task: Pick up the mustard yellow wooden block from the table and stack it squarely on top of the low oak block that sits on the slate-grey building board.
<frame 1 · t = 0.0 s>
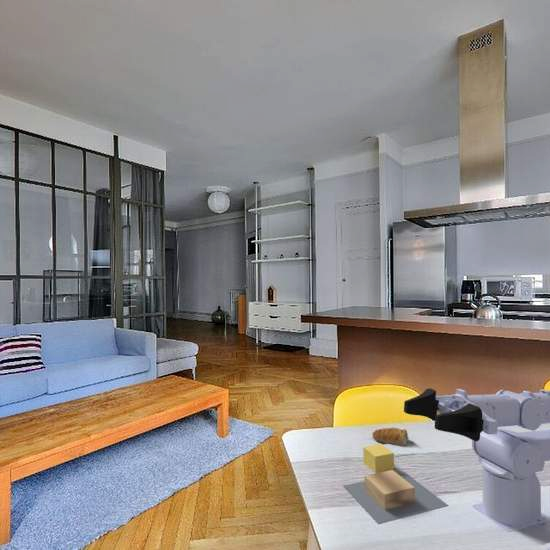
hand: (419, 414, 64), 22 cm above the table, tool horizontal, fingers open, 7 cm apart
building board: (393, 498, 76), on the table
yellow block: (378, 469, 88), on the table
oak block: (389, 496, 75), point 1 cm above the table, touching building board
pastry: (392, 443, 102), on the table
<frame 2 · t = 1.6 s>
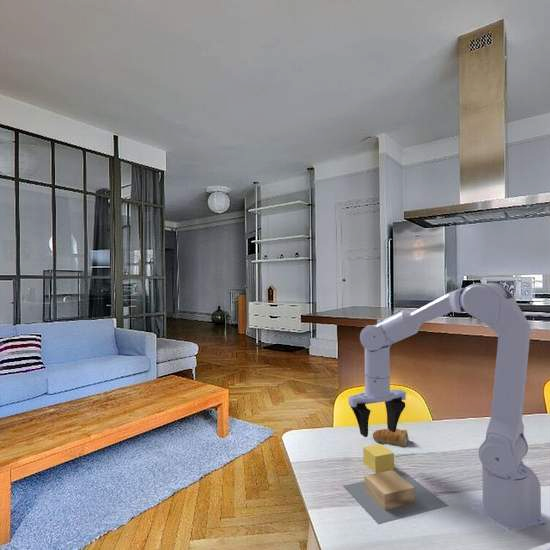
hand: (378, 432, 88), 8 cm above the table, tool pointing down, fingers open, 7 cm apart
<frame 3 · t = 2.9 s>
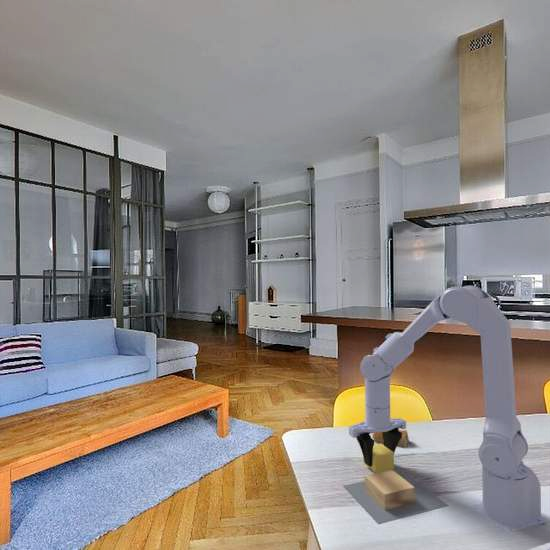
hand: (378, 462, 88), 1 cm above the table, tool pointing down, fingers closed on yellow block, 5 cm apart
yellow block: (378, 468, 88), on the table, touching gripper
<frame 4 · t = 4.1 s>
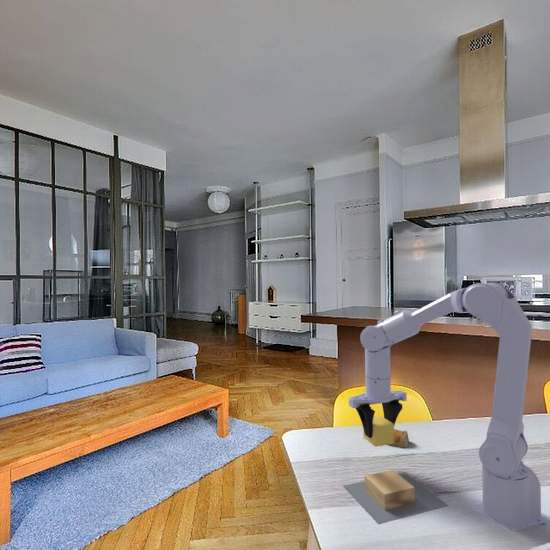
hand: (378, 434, 87), 8 cm above the table, tool pointing down, fingers closed on yellow block, 5 cm apart
yellow block: (378, 440, 87), point 7 cm above the table, touching gripper
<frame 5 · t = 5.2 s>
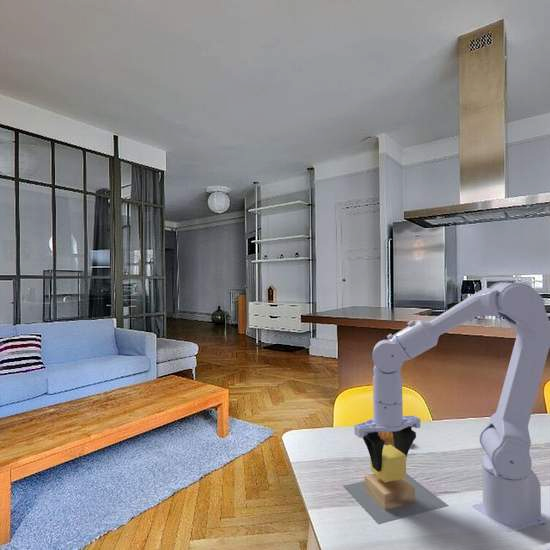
hand: (388, 466, 76), 7 cm above the table, tool pointing down, fingers closed on yellow block, 5 cm apart
yellow block: (388, 473, 76), point 5 cm above the table, touching gripper
when the fingers open (6 cm above the table, at t = 5.8 s): yellow block drops 1 cm, resting on oak block.
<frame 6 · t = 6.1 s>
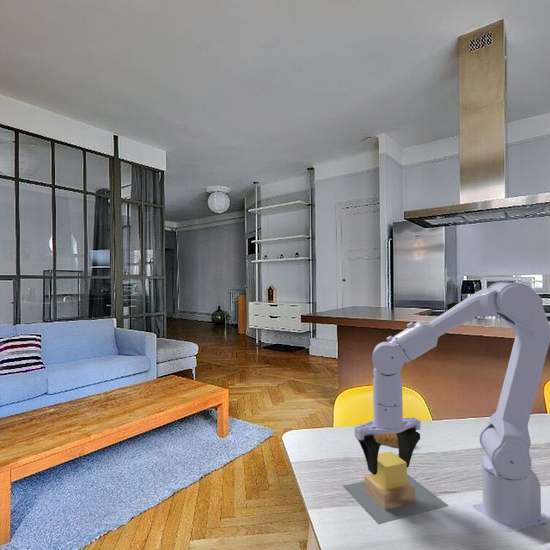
hand: (388, 468, 76), 6 cm above the table, tool pointing down, fingers open, 7 cm apart
yellow block: (388, 481, 76), point 4 cm above the table, touching oak block
oak block: (389, 496, 75), point 1 cm above the table, touching building board, yellow block
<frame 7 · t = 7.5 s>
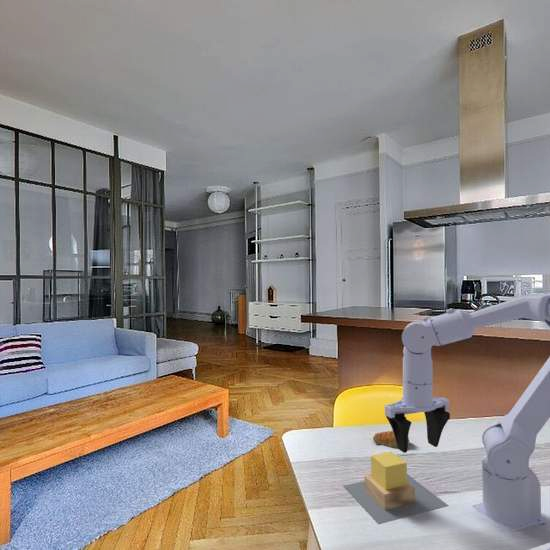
hand: (417, 447, 76), 10 cm above the table, tool pointing down, fingers open, 7 cm apart
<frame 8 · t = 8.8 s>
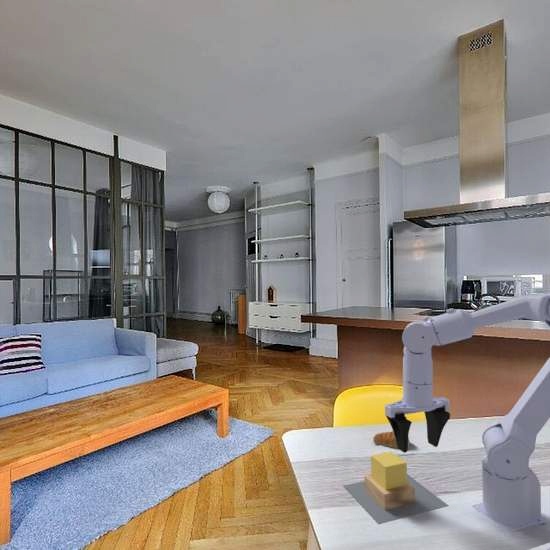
hand: (417, 447, 76), 10 cm above the table, tool pointing down, fingers open, 7 cm apart
at the end: yellow block 0.1 cm off-centre on the oak block, point 3.0 cm above the oak block's base; yellow block tilted 0°; the gripper is holding nothing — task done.
